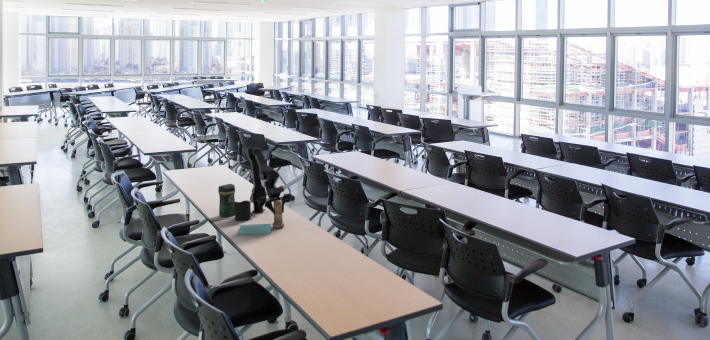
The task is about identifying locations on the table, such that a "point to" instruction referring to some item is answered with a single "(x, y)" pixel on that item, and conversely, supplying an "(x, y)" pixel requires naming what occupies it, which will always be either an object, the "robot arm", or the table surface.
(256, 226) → the notched board
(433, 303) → the table surface
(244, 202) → the pen holder
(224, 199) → the coffee jar
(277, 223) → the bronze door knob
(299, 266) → the table surface
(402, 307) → the table surface
